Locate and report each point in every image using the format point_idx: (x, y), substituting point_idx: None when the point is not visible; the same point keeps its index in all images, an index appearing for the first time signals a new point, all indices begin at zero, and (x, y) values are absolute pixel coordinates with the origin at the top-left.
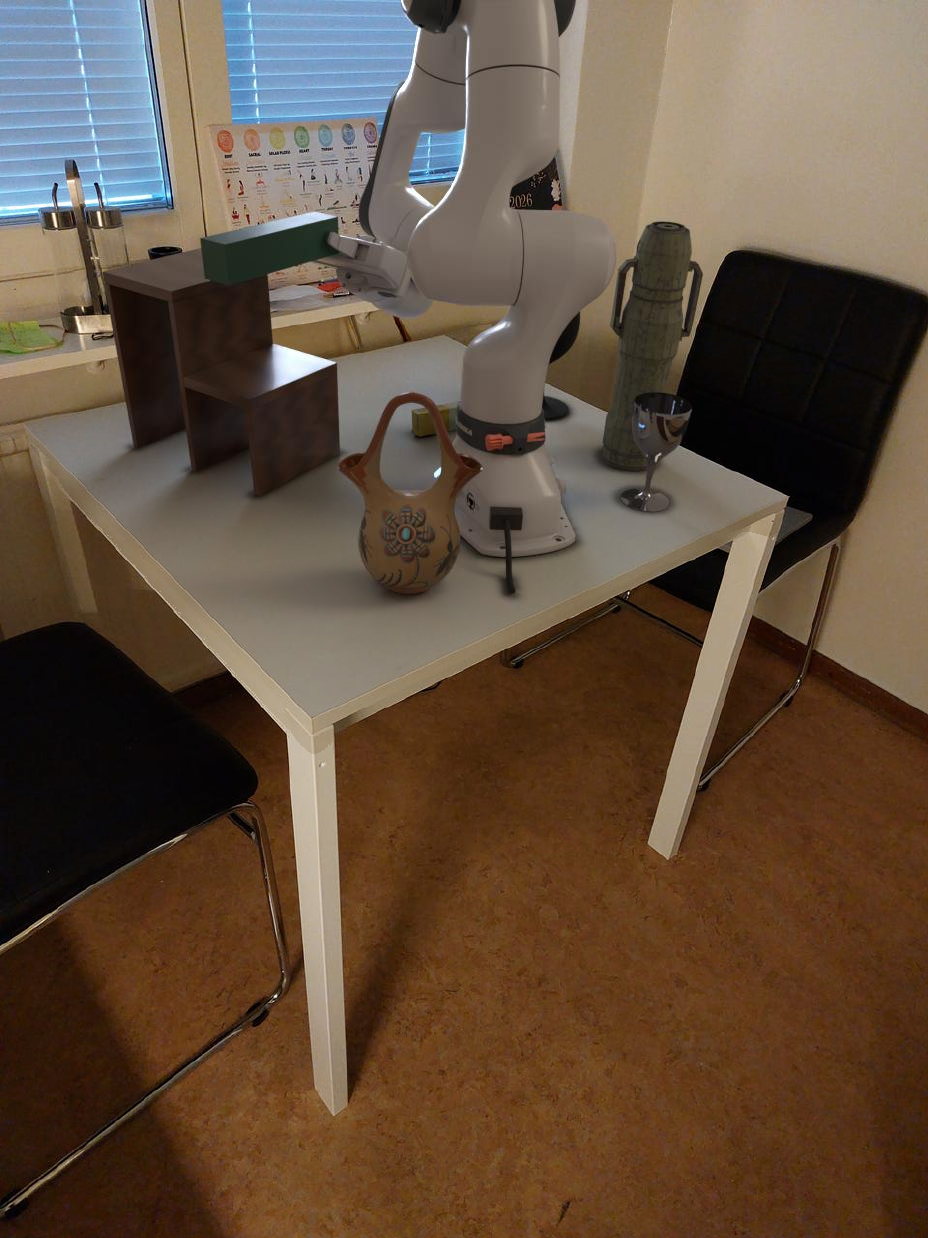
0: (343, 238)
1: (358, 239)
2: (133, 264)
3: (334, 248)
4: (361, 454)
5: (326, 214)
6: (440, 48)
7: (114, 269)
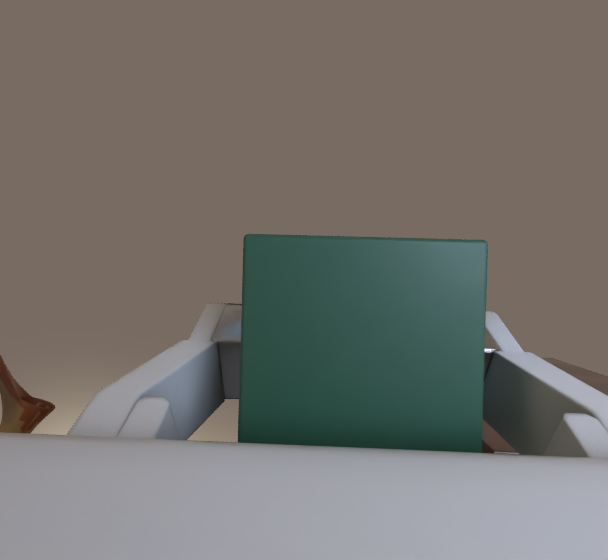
0: (168, 357)
1: (51, 440)
2: (598, 374)
3: (219, 405)
4: (26, 402)
5: (350, 239)
6: None
7: (562, 362)
